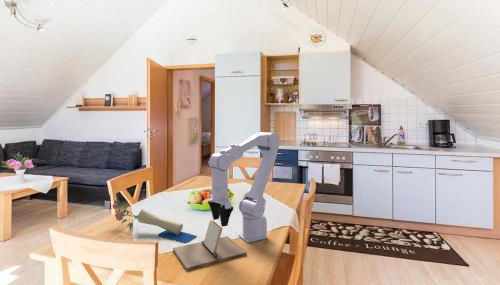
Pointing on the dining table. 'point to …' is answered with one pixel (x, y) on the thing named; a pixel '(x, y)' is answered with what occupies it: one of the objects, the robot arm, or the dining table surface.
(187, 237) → the blue flat pad
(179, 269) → the dining table surface
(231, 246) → the board
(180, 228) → the flower vase
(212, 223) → the tile
